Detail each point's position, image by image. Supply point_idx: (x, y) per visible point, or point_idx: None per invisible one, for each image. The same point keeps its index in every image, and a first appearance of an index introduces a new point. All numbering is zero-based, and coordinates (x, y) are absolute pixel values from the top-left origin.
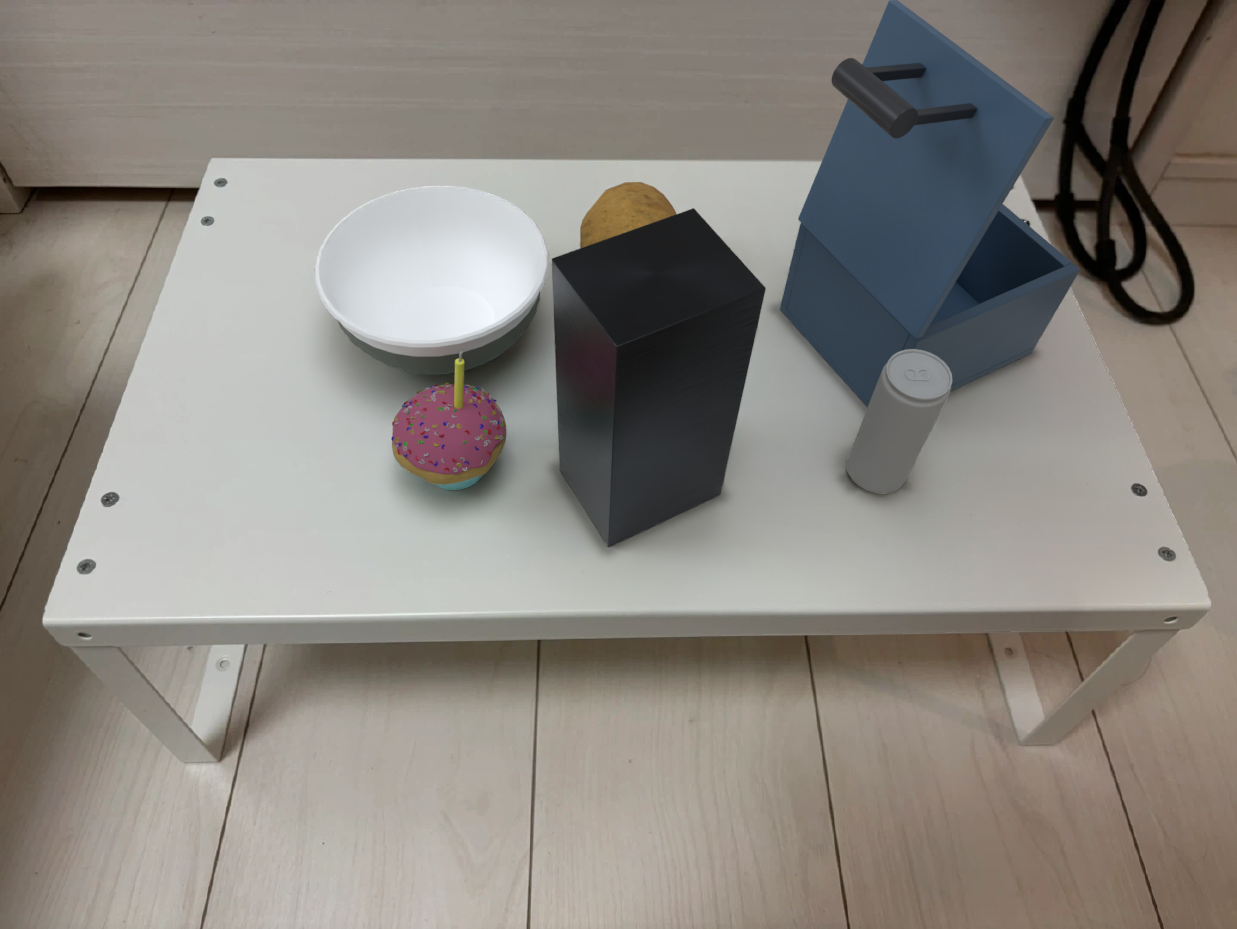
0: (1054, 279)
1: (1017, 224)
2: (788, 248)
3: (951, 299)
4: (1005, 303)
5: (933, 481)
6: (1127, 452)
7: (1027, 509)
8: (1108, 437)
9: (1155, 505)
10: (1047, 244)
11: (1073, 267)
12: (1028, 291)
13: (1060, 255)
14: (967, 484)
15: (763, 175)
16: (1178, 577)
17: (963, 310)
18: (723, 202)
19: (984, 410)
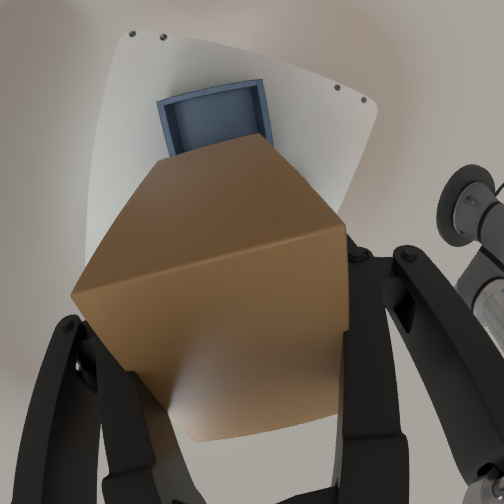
0: (264, 97)
1: (217, 92)
2: (149, 168)
3: (210, 105)
4: (271, 132)
5: (303, 165)
6: (320, 78)
7: (328, 136)
8: (310, 79)
9: (345, 87)
10: (238, 84)
11: (259, 81)
12: (268, 116)
13: (248, 82)
14: (309, 152)
15: (94, 164)
16: (372, 103)
17: (219, 102)
18: (111, 190)
19: (277, 123)
